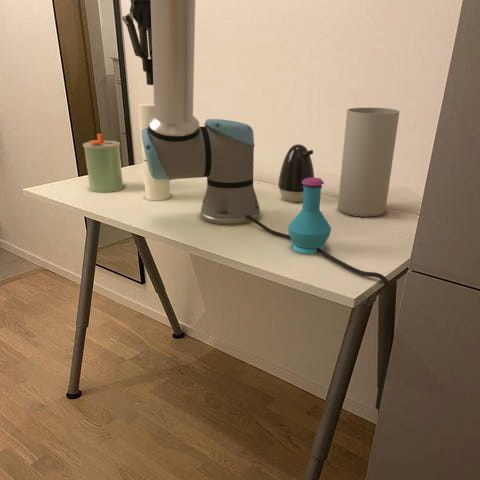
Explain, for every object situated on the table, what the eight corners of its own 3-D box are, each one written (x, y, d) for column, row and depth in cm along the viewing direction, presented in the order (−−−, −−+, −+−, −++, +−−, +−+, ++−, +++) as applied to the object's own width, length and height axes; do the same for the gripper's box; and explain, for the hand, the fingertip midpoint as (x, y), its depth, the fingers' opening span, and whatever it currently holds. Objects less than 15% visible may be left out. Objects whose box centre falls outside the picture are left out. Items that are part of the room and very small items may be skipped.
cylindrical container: (168, 200, 144) (162, 105, 132) (143, 200, 144) (135, 105, 132) (172, 193, 150) (166, 103, 138) (148, 193, 150) (140, 102, 138)
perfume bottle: (325, 240, 115) (331, 174, 108) (332, 255, 107) (339, 184, 100) (284, 241, 115) (288, 174, 107) (289, 256, 107) (293, 185, 99)
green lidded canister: (129, 189, 155) (124, 144, 148) (95, 194, 150) (89, 147, 143) (117, 182, 163) (112, 139, 156) (84, 186, 158) (78, 142, 151)
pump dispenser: (296, 206, 138) (299, 149, 131) (270, 198, 145) (272, 143, 138) (321, 200, 144) (325, 144, 137) (295, 193, 151) (298, 139, 144)
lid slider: (104, 143, 148) (103, 135, 147) (93, 144, 147) (92, 136, 146) (99, 141, 151) (98, 133, 150) (89, 142, 150) (88, 134, 149)
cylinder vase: (365, 202, 143) (377, 106, 131) (395, 214, 133) (410, 112, 121) (328, 207, 138) (337, 109, 126) (356, 220, 128) (368, 114, 116)
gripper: (159, -12, 138) (165, 83, 149) (114, -15, 132) (124, 85, 143) (172, -15, 133) (178, 84, 144) (126, -18, 126) (135, 86, 137)
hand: (151, 84), depth 143 cm, fingers closed
